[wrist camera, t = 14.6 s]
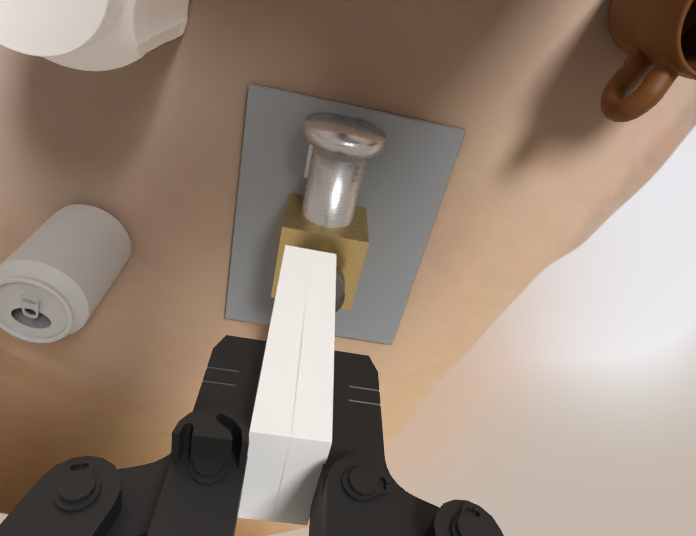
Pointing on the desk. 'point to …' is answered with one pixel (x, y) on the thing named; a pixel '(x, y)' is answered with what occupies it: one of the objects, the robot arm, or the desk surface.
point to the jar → (90, 29)
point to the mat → (375, 194)
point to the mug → (649, 53)
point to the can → (61, 273)
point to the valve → (333, 195)
